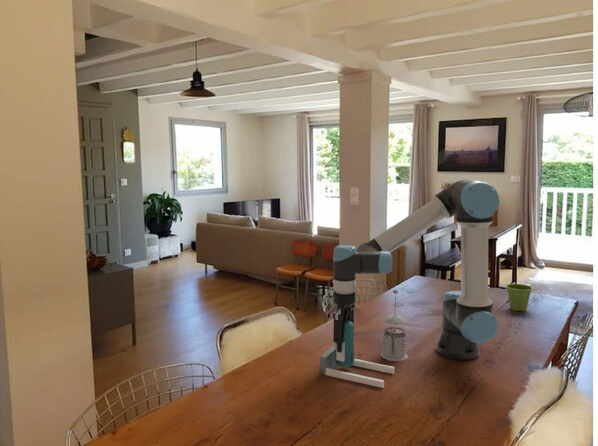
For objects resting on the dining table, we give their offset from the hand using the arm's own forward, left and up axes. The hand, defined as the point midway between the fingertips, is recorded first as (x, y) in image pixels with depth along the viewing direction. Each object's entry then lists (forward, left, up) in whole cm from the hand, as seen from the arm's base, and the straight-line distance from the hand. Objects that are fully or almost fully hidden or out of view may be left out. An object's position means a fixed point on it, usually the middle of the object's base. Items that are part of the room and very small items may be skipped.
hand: (343, 356), depth 160 cm
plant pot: (-49, -100, -5) cm, 111 cm away
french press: (-12, -19, -5) cm, 23 cm away
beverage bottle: (0, 0, -4) cm, 4 cm away
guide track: (-5, 0, -5) cm, 7 cm away
